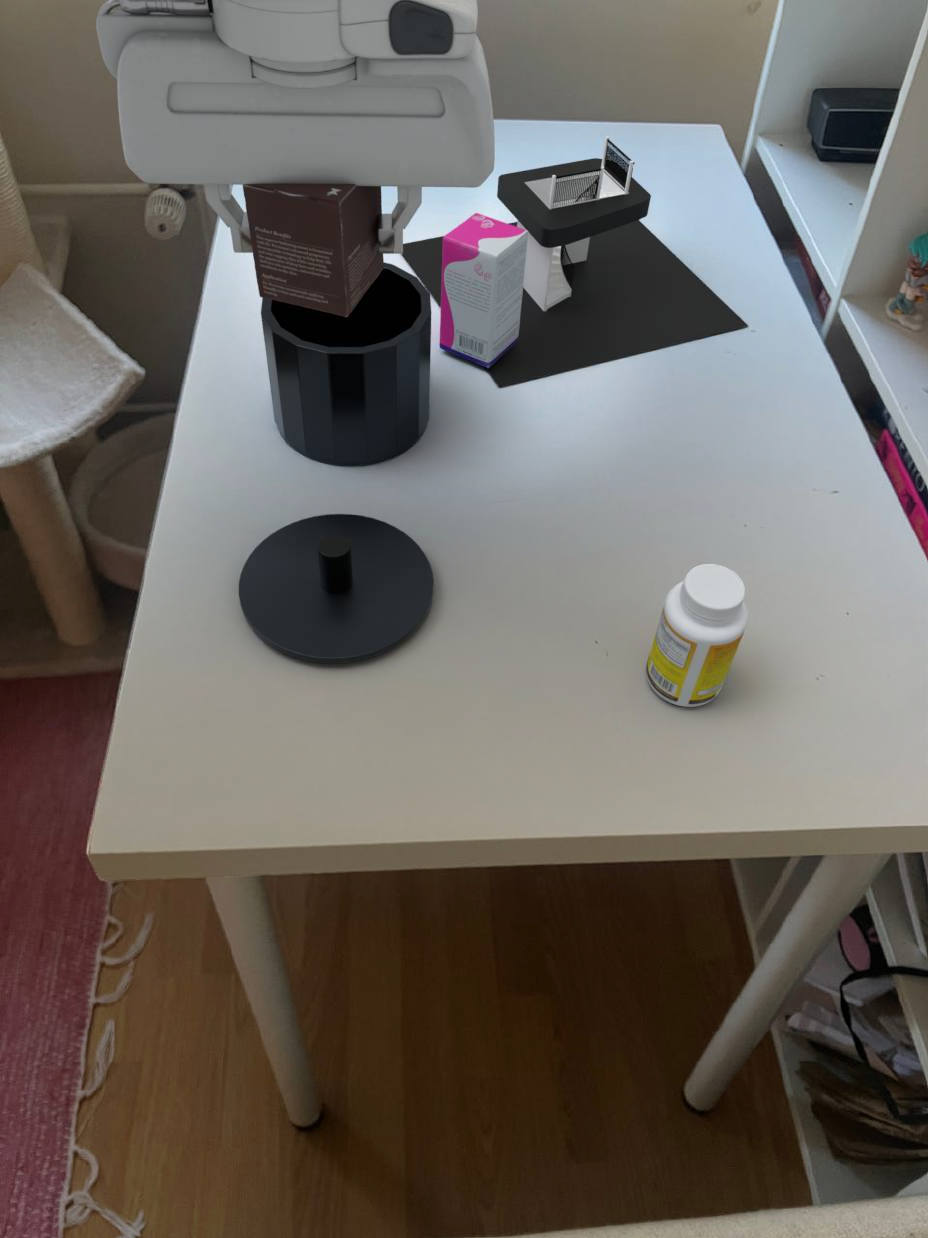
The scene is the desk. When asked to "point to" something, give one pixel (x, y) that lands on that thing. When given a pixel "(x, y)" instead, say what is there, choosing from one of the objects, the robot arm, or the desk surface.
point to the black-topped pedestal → (589, 272)
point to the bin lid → (336, 588)
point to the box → (315, 243)
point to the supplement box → (482, 288)
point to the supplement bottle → (697, 636)
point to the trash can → (352, 372)
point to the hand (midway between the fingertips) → (320, 248)
